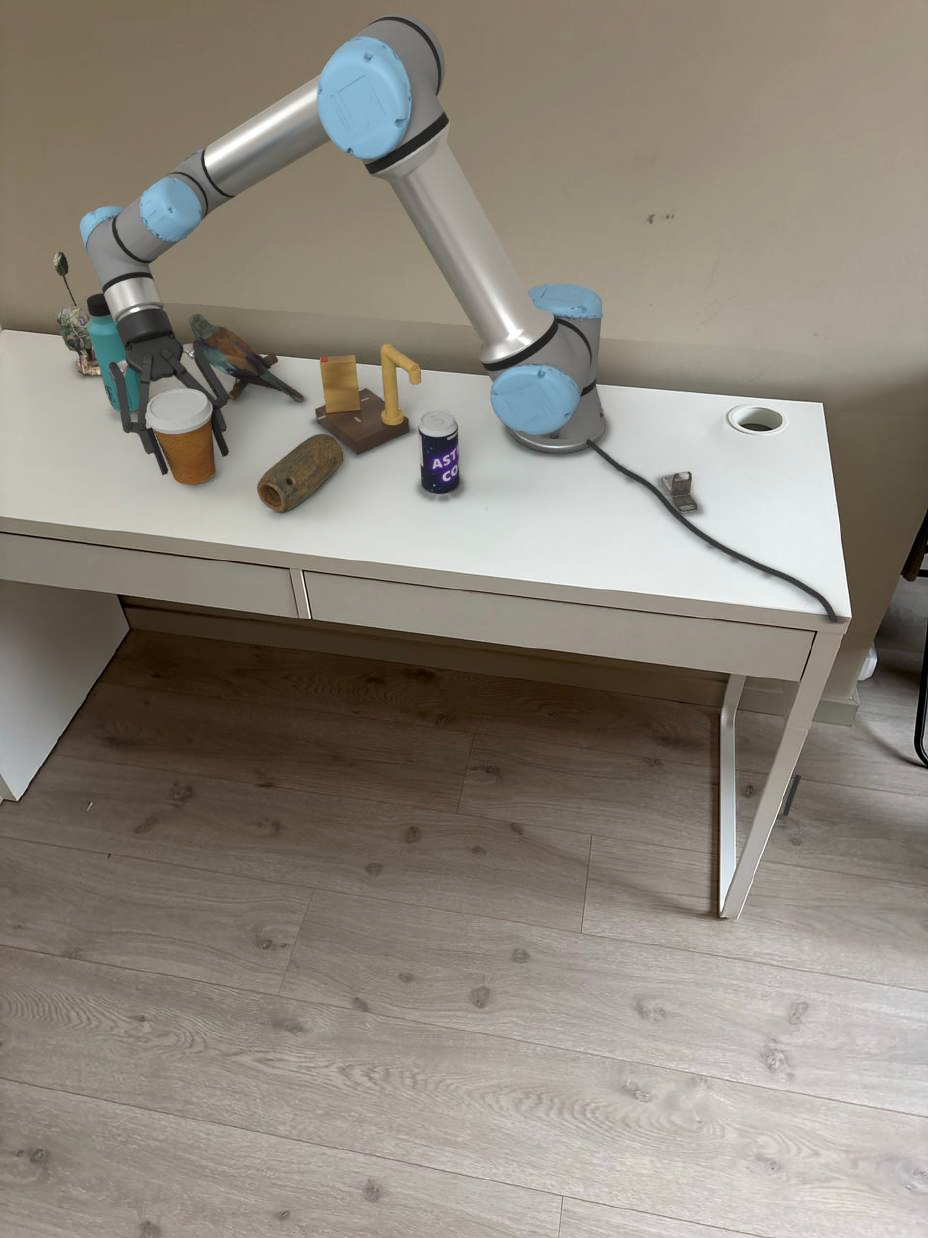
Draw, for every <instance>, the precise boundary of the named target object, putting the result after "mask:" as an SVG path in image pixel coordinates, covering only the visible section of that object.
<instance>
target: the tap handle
mask: <svg viewBox="0 0 928 1238" xmlns="http://www.w3.org/2000/svg"><path fill="white" fill-rule="evenodd" d="M319 366H320V374H321V381H322V390H323V398H324V405H325V406H326V413H333V412H344V411H356V410H361V408H360V398H359V391H360V389H359V381H358V379H359V378H358V370H357V361H356V355H355V354H347V355H335V356H334V355H333V356H328V355H322V356H320V357H319Z"/></svg>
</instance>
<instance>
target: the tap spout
mask: <svg viewBox="0 0 928 1238" xmlns="http://www.w3.org/2000/svg"><path fill="white" fill-rule="evenodd" d="M379 352H380V354H379V355H380V364H381V376H382V387H383V398H384V399H383V400H384V401H385V410H384V411H383V412H382V413H381V418H382V422H383V423H385V424H387V425H397V424H400V423H402V422H403V420H404V416H405V412H404V410H402V409H401V408H400V402H399V389H398V387H399V386H398V376H397V367H399V368H401V369H402V370H403V371H405V372H406V373H408V381H409V384H410V385H413V386H414V385H415V386H416V385H420V384H422V369H421V367H420V365H419V364H418V363H417V362H415V361H414V360H412V359H411V358H409V357H408V356H407V355H405V354H403V353H402V352H401V351H399V350H398V349H396V348H395V347H394V346H393V345H392V344H391V343H384V344H382V345H381V347H380V350H379Z"/></svg>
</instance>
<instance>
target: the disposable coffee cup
mask: <svg viewBox="0 0 928 1238" xmlns="http://www.w3.org/2000/svg"><path fill="white" fill-rule="evenodd" d="M212 410H213V407H212V404H211V402H210V401H209V400H208V399H207V397H206V395H205V394H204V393H202V392H200V391H198V390H195V389H189V388H187V387H181V388H179V387H178V388H173V389H169V390H165V391H163V392H160V393H158V394H156V395H155V396H154V397H152V398H151V399H150V400H148V405H147V413H146V415H145V417H146V424H148V425H149V426H150V428H151V427H152V429H153V431H154V434H155V436H156V439H157V442H158V444H159V447H160V449H161V452H162V455H163V457H164V459H165V462H166V464H167V465H168V467H169V470H170V472H171V474H172V477H173V479H174V480H175V481H176V482H177V483H179V484H182V485H191V486H192V485H199V484H202V483H204V482H207V481H208V480H210V479H211V478H212V477H213V476H214V475H215V473H216V464H215V463H216V462H215V451H214V450H215V449H214V439H213V436H214V435H213V431H212V425H211V415H212Z"/></svg>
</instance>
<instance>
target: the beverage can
mask: <svg viewBox="0 0 928 1238" xmlns="http://www.w3.org/2000/svg"><path fill="white" fill-rule="evenodd" d="M417 428H418V429H417V430H418V445H419V446H418V447H419V464H420V465H419V466H420V478H421V479H420V481H421V487H422V488H423V490H425V491H426V492H428V493H429V494H431V495H433V496H439V497H442V496H443V497H444V496H448V495H450V494H452V493H453V492H454V491H455V490H456V489H457V488H458V487H459V486H460V451H459V449H460V448H459V425H458V422H457V421H456V417H455V415H454V414H453V413H452V412H450V411H448V410H445V409H433V410H429V411H427V412H425V413H423V415H422V416H421V417H420V422H419V424H418V427H417Z"/></svg>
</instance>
